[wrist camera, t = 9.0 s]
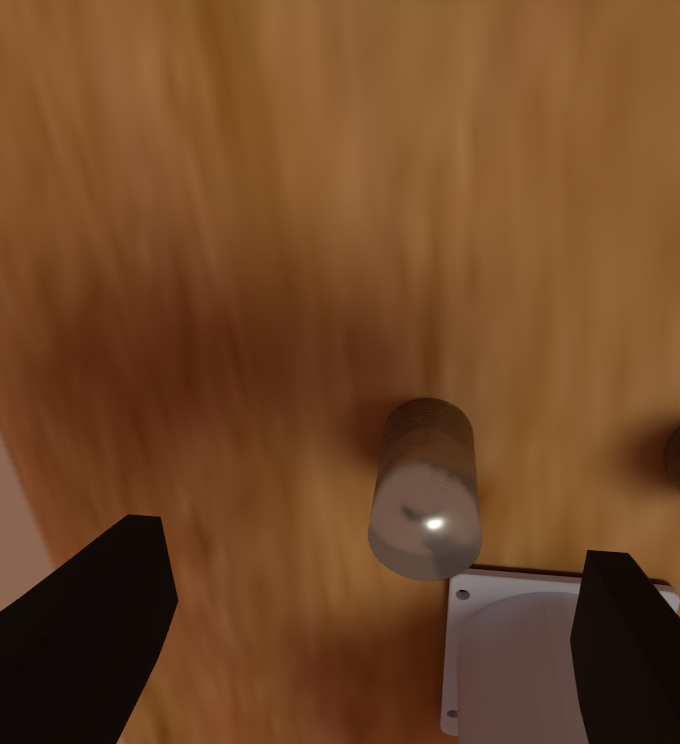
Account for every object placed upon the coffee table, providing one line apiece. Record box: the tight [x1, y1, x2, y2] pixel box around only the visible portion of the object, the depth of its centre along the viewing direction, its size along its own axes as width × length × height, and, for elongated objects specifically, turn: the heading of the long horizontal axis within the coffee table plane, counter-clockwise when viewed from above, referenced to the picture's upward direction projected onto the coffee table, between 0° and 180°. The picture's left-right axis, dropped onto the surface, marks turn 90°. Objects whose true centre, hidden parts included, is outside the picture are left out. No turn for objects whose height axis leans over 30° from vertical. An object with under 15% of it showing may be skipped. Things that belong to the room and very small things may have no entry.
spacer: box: [368, 398, 482, 581], centre depth 18 cm, size 3×3×5 cm
